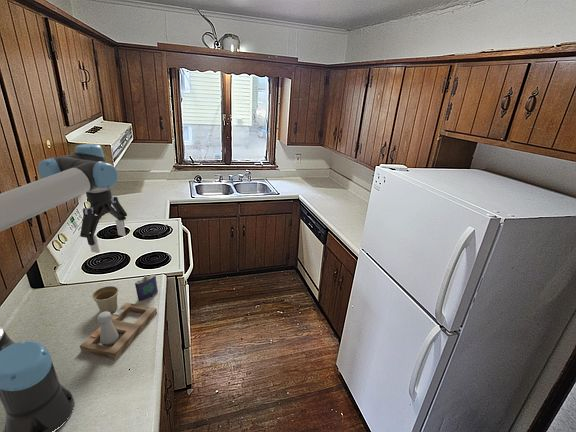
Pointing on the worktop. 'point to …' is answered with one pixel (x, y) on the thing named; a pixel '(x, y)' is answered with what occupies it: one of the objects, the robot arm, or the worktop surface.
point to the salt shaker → (107, 329)
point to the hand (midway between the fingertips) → (109, 243)
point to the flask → (146, 287)
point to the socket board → (120, 331)
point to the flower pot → (106, 298)
